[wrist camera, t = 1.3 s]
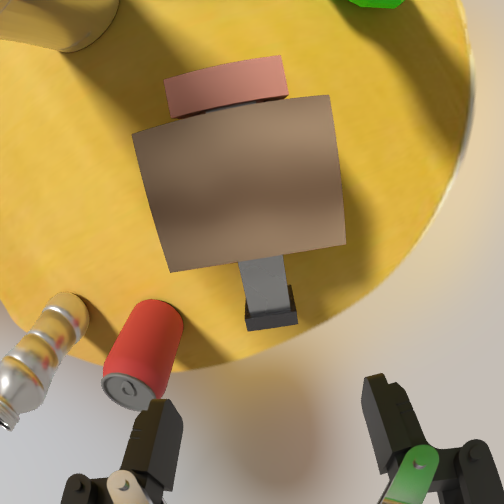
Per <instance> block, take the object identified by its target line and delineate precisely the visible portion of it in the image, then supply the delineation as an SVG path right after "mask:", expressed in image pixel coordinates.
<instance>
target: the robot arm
mask: <svg viewBox="0 0 504 504" xmlns="http://www.w3.org/2000/svg"><path fill="white" fill-rule="evenodd" d="M118 4H119V0H0V39H2V40H8V41H14V42H20V43H25V44H31V45H35V46H40V47H44V48H49V49H53V50H57V51H61V52H74V51H78V50H80V49H83V48H85V47H86V46H88V45H90V44H91V43H93V42H94V41H95V40H96V39H98V38H99V37H100V36H101V35H102V34H103V33H104V32H105V30H106V29H107V28H108V26H109V25H110V24H111V22H112V20H113V18H114V17H115V15H116V12H117V9H118ZM361 404H362V409H363V414H364V417H365V420H366V424H367V427H368V431H369V434H370V438H371V441H372V445H373V448H374V452H375V456H376V460H377V463H378V467H379V471H380V474H384V473H388V475H389V479H390V480H389V482H388V484H387V486H386V488H385V490H384V492H383V493H382V496H381V497H380V499H379V501H378V503H377V504H422V503H423V501H424V498H425V496H426V494H427V493H428V492H437V493H438V497H439V502H440V504H504V490H503V487H502V484H501V480H500V477H499V474H498V471H497V468H496V466H495V463H494V460H493V457H492V454H491V452H490V450H489V447H488V445H487V444H486V443H485V442H484V441H482V440H478V439H474V440H470V441H468V442H467V443H466V444H465V445H463V447H459V448H451V449H437V448H435V447H433V446H431V445H430V444H429V443H428V442H427V441H426V439H425V436H424V434H423V432H422V429H421V427H420V424H419V422H418V419H417V417H416V414H415V412H414V411H413V407H412V405H411V403H410V401H409V398H408V396H407V393H406V391H405V390H404V389H403V388H402V387H401V386H400V385H399V384H398V383H397V382H395V383H391V384H388V383H387V380H386V378H385V376H384V374H383V373H380V374H376V375H372V376H368V377H365V378H364V384H363V391H362V398H361ZM182 433H183V421H182V418H181V416H180V415H179V413H178V412H177V410H176V408H175V407H174V405H173V404H172V402H171V400H169V399H152V400H151V401H150V403H149V406H148V410H142V411H141V413H140V414H139V415H138V416H137V418H136V419H135V422H134V425H133V431H132V432H131V435H130V439H129V441H128V445H127V448H126V451H125V455H124V458H123V462H122V465H121V468H120V469H119V470H118V471H115V472H113V473H112V474H111V475H110V476H109V477H107V478H98V479H89V478H88V477H86V476H85V475H83V474H74V475H72V476H70V477H69V478H68V480H67V482H66V485H65V489H64V492H63V496H62V500H61V504H167V503H166V501H165V500H164V498H163V497H162V496H163V491H172V490H173V484H174V477H175V472H176V466H177V461H178V455H179V449H180V444H181V439H182Z"/></svg>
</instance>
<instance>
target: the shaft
mask: <svg viewBox="0 0 504 504" xmlns="http://www.w3.org/2000/svg"><path fill="white" fill-rule="evenodd" d="M250 104H256V101H254V102H248V103H243V104H237V105H232V106H227V107H222V108H217V109H213V110H208V111H205V112H206V113H210V112H215V111H219V110H224V109H229V108H234V107H239V106H245V105H250ZM238 265H239V269H240V273H241V278H242V282H243V286H244V291H245V295H246V303H245V322H246V326H247V330H248V331H255V330H262V329H269V328H276V327H283V326H289V325H295V324H298V320H297V312H296V307H295V302H294V297H293V292H292V287H291V285H287V281H286V274H285V268H284V261H283V255H278V256H272V257H266V258H260V259H253V260H247V261H241V262H238Z"/></svg>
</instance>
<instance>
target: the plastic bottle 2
mask: <svg viewBox="0 0 504 504" xmlns="http://www.w3.org/2000/svg"><path fill="white" fill-rule="evenodd" d="M348 1H350V2H352V3H354V4H356V5H358V6H360V7H373V8H393V9H394V8H396V7H397V6H399V5H400V4H401V3H403V2H404V1H405V0H348Z"/></svg>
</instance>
